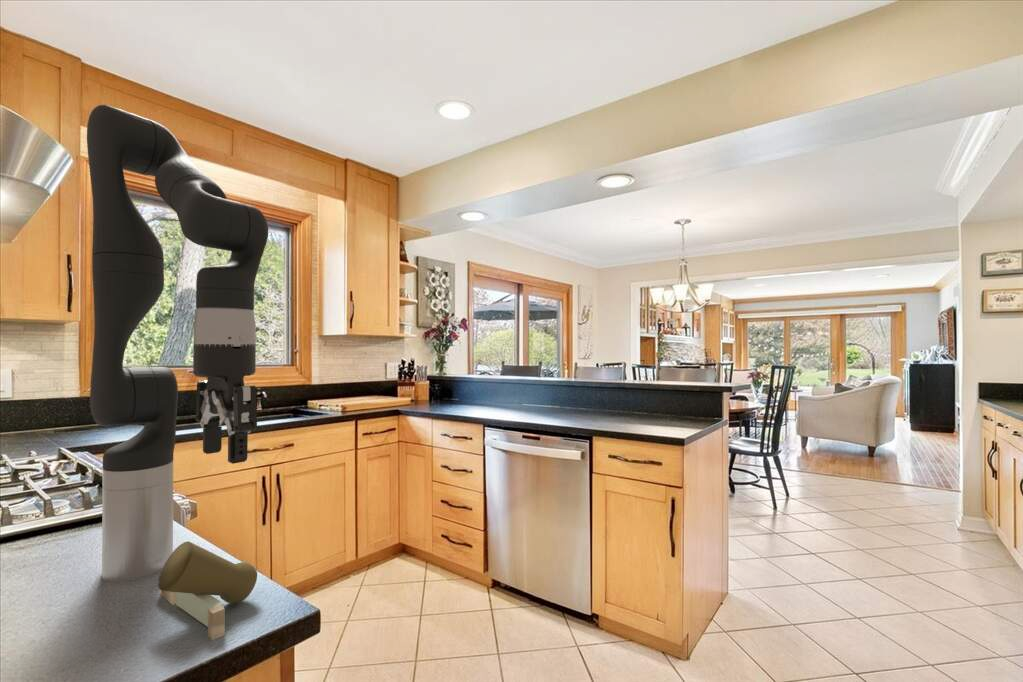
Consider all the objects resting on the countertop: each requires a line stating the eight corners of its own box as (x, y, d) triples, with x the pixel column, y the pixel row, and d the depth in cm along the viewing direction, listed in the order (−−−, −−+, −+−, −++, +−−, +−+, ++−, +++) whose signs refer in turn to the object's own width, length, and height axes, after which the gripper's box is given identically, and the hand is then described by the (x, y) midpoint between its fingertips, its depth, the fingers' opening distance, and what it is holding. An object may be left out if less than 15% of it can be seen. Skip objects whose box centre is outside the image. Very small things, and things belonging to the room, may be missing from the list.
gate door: (176, 604, 67) (176, 583, 67) (185, 601, 68) (185, 579, 68) (213, 631, 61) (214, 607, 61) (223, 626, 62) (223, 603, 62)
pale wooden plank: (160, 594, 70) (161, 570, 71) (172, 590, 72) (172, 567, 72) (212, 641, 59) (212, 613, 59) (224, 636, 60) (224, 608, 60)
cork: (151, 588, 62) (227, 606, 70) (172, 593, 59) (250, 611, 66) (177, 540, 66) (247, 561, 73) (199, 542, 63) (270, 564, 70)
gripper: (176, 341, 69) (175, 454, 69) (216, 342, 60) (215, 471, 60) (232, 341, 75) (231, 446, 75) (276, 342, 66) (275, 460, 66)
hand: (224, 457), depth 67 cm, fingers open, 8 cm apart
